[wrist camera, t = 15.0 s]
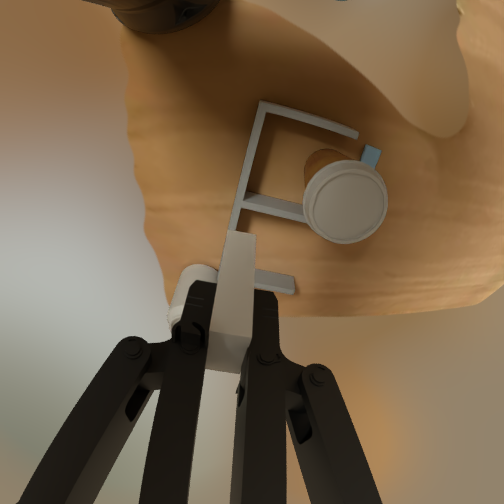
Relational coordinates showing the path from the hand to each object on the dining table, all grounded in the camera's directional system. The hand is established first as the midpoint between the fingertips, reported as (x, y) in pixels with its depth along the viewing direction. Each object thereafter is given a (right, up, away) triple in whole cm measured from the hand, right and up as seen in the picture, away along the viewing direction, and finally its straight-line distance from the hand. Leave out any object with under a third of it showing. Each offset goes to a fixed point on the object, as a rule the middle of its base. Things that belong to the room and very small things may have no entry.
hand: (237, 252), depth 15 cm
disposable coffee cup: (+11, +11, +22) cm, 27 cm away
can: (-8, -4, +34) cm, 35 cm away
